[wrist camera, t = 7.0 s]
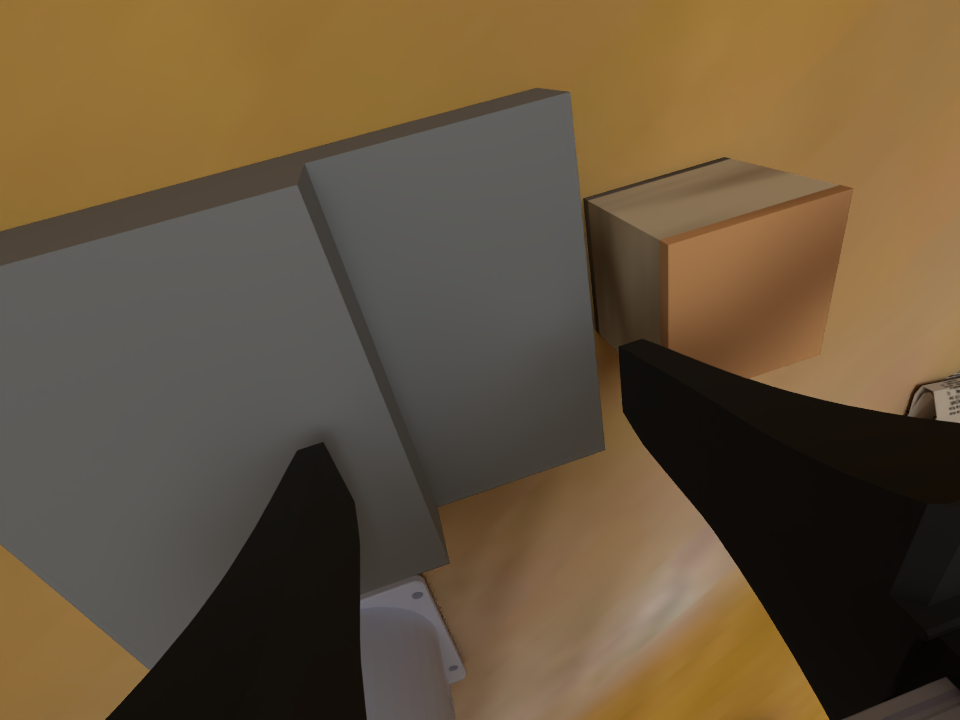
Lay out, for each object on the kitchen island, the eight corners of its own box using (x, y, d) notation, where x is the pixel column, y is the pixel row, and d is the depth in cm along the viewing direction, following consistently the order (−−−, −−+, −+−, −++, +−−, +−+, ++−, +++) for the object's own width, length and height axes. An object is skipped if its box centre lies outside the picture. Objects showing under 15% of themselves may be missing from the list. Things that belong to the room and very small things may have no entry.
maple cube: (668, 405, 15) (595, 329, 19) (820, 354, 15) (715, 291, 19) (668, 244, 12) (582, 197, 16) (853, 188, 12) (722, 156, 16)
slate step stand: (579, 412, 20) (637, 496, 16) (189, 542, 19) (149, 669, 15) (536, 88, 14) (616, 97, 10) (-61, 247, 13) (-250, 334, 9)
